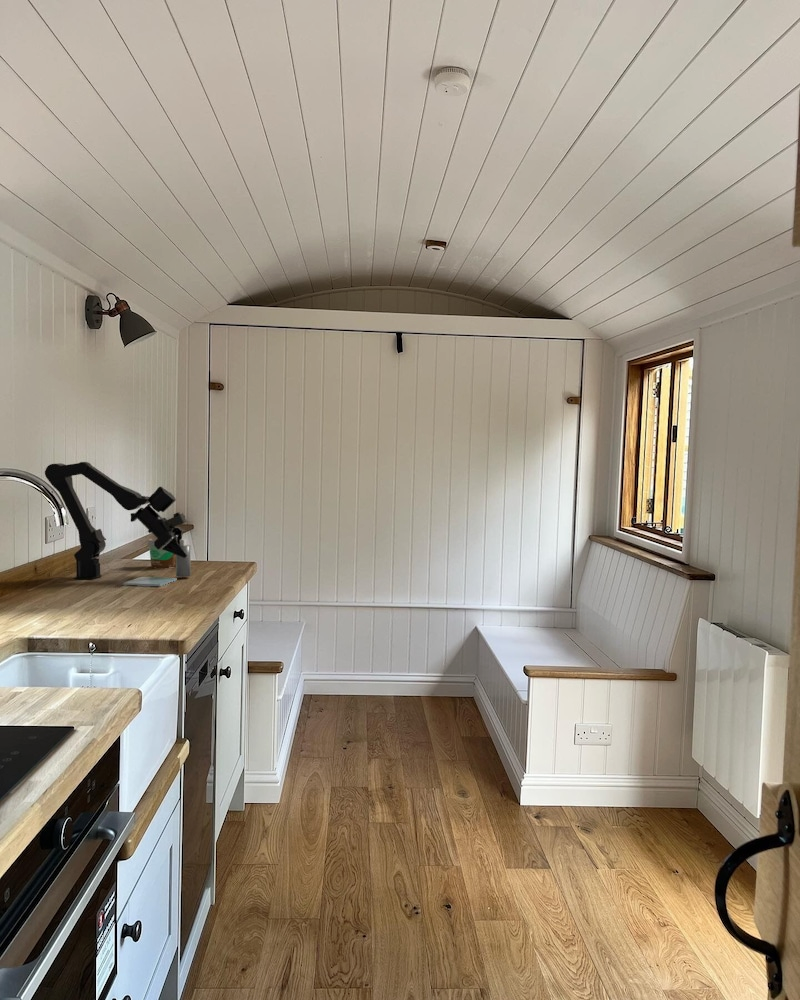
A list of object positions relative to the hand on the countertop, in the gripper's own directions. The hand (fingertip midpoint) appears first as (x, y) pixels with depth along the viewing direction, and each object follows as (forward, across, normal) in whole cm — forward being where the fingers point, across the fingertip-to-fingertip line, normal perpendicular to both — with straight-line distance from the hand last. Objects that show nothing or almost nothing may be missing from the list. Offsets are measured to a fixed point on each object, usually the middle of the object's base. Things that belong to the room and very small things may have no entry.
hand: (187, 555), depth 256 cm
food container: (-4, +21, +15) cm, 27 cm away
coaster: (-2, -9, +12) cm, 15 cm away
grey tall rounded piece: (+4, 0, +6) cm, 7 cm away
